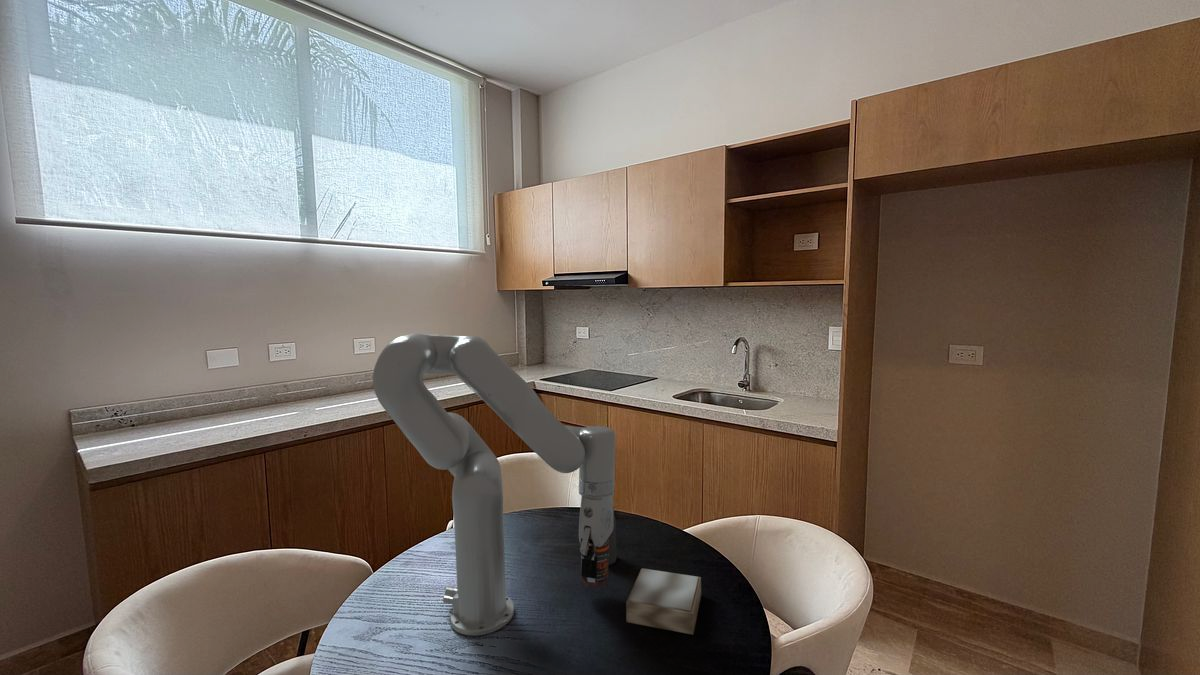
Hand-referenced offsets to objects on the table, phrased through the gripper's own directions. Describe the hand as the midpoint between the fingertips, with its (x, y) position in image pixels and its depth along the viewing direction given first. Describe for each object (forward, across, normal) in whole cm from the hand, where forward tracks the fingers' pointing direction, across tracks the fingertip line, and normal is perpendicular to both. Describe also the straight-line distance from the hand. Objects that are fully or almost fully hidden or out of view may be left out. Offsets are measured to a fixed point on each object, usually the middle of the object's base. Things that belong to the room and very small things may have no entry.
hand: (594, 568), depth 102 cm
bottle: (+6, +16, +3) cm, 17 cm away
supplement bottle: (+3, 0, 0) cm, 3 cm away
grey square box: (+6, +1, -15) cm, 16 cm away
